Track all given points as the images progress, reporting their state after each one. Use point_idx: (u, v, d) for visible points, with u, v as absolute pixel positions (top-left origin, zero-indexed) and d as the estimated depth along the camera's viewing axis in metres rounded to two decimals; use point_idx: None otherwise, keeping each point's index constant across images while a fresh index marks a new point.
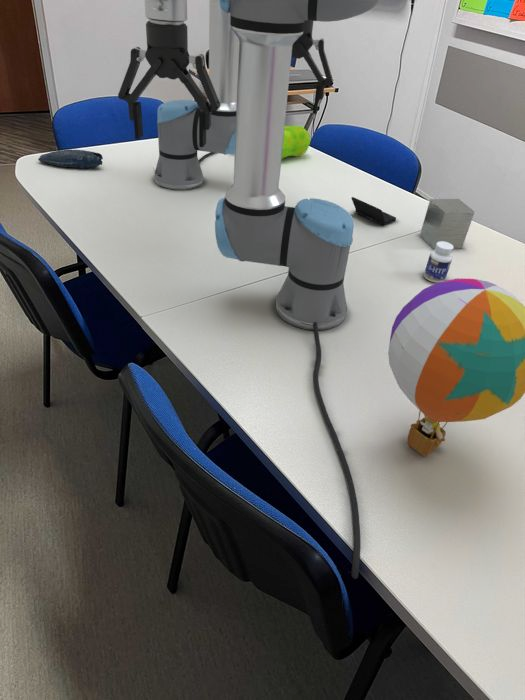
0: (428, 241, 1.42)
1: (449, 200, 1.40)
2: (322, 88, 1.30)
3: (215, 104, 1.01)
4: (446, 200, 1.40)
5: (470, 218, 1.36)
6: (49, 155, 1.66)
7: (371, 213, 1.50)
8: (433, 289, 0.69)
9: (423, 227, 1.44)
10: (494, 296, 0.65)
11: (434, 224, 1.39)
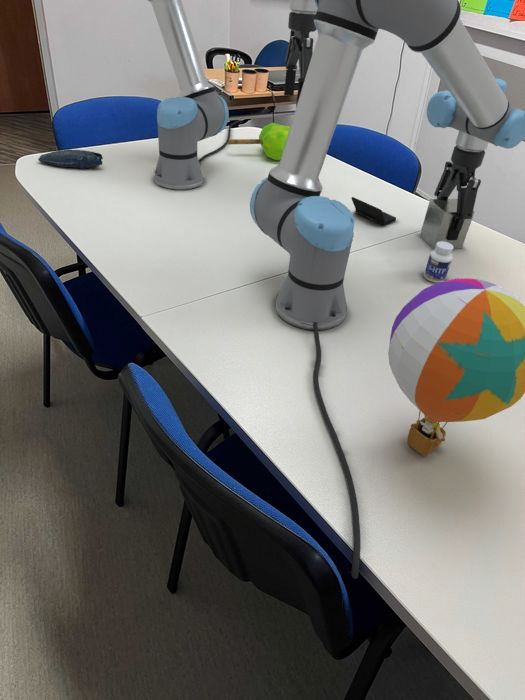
0: (428, 241, 1.42)
1: (449, 200, 1.40)
2: (458, 220, 1.34)
3: None
4: (446, 200, 1.40)
5: None
6: (49, 155, 1.66)
7: (371, 213, 1.50)
8: (433, 289, 0.69)
9: (423, 227, 1.44)
10: (494, 296, 0.65)
11: (434, 224, 1.39)
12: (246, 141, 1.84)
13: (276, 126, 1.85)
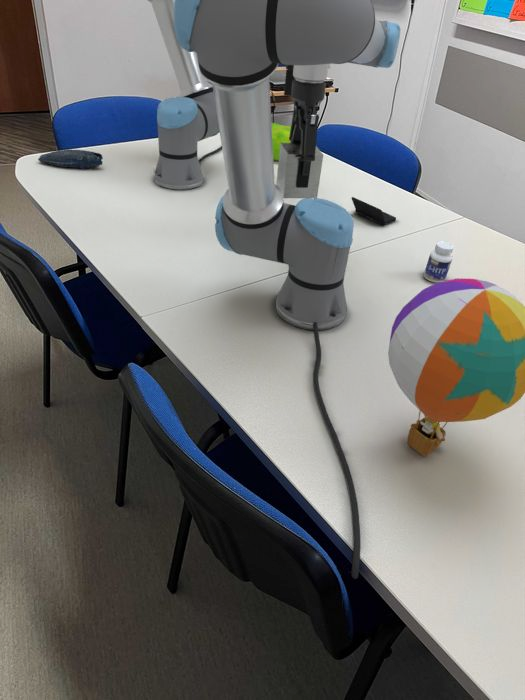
0: None
1: None
2: (303, 164, 1.21)
3: None
4: (298, 144, 1.27)
5: (319, 162, 1.23)
6: (49, 155, 1.66)
7: (371, 213, 1.50)
8: (433, 289, 0.69)
9: (277, 175, 1.31)
10: (494, 296, 0.65)
11: (283, 170, 1.26)
12: None
13: (276, 126, 1.85)
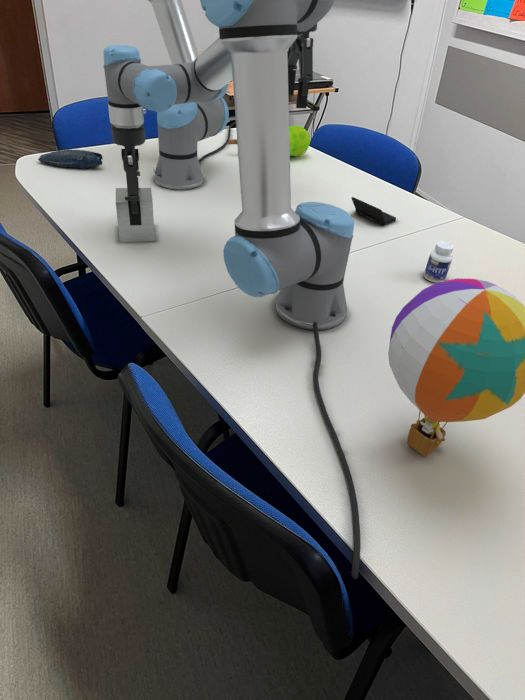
0: None
1: None
2: (130, 203, 1.21)
3: None
4: None
5: (150, 208, 1.27)
6: (49, 155, 1.66)
7: (371, 213, 1.50)
8: (433, 289, 0.69)
9: None
10: (494, 296, 0.65)
11: None
12: None
13: None
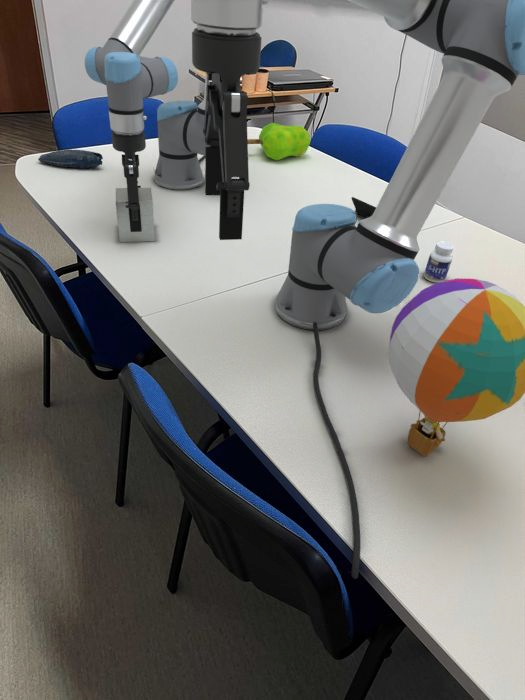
0: None
1: None
2: (227, 195, 0.59)
3: None
4: None
5: (150, 208, 1.27)
6: (49, 155, 1.66)
7: (371, 213, 1.50)
8: (433, 289, 0.69)
9: None
10: (494, 296, 0.65)
11: None
12: None
13: (276, 126, 1.85)
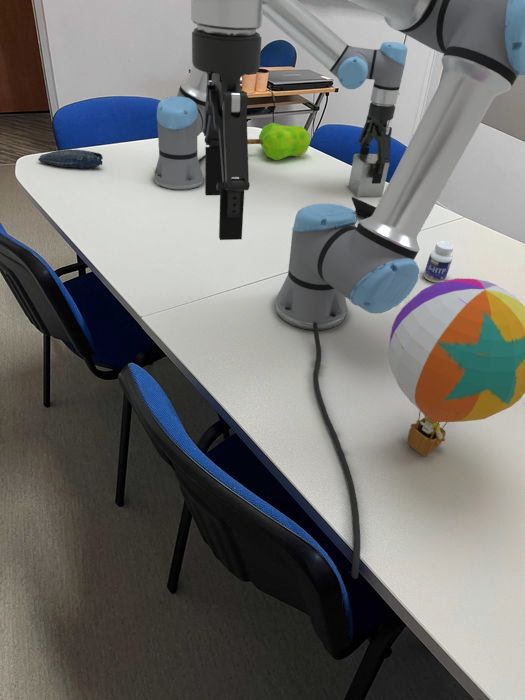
0: (353, 190, 1.67)
1: (370, 155, 1.65)
2: (227, 195, 0.59)
3: None
4: (368, 155, 1.65)
5: (386, 169, 1.62)
6: (49, 155, 1.66)
7: (371, 213, 1.50)
8: (433, 289, 0.69)
9: (350, 179, 1.69)
10: (494, 296, 0.65)
11: (357, 175, 1.64)
12: None
13: (276, 126, 1.85)
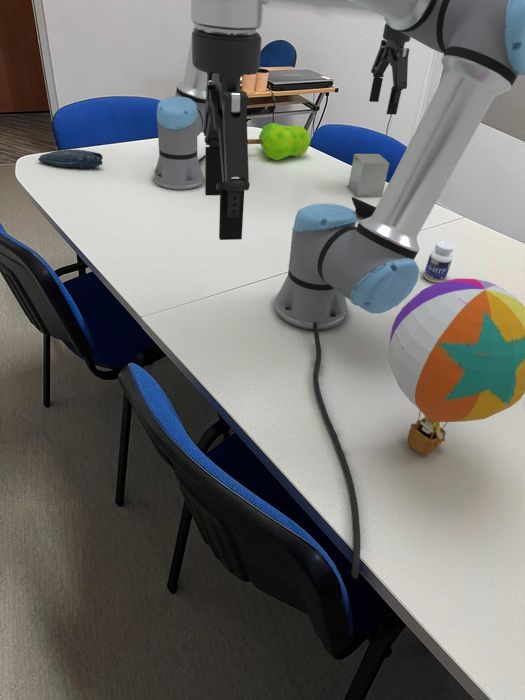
0: (353, 190, 1.67)
1: (370, 155, 1.65)
2: (227, 195, 0.59)
3: None
4: (368, 155, 1.65)
5: (386, 169, 1.62)
6: (49, 155, 1.66)
7: (371, 213, 1.50)
8: (433, 289, 0.69)
9: (350, 179, 1.69)
10: (494, 296, 0.65)
11: (357, 175, 1.64)
12: None
13: (276, 126, 1.85)
